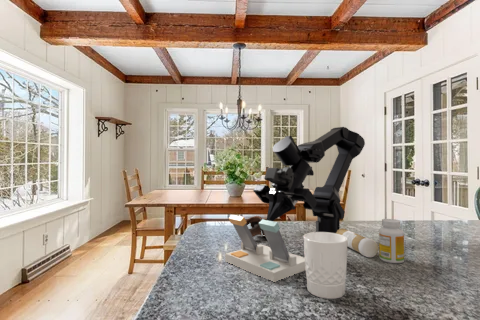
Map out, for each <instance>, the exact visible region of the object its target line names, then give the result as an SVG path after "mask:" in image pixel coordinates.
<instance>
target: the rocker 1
mask: <svg viewBox="0 0 480 320" xmlns="http://www.w3.org/2000/svg"><path fill="white" fill-rule="evenodd" d="M228 220H229V222H230V224H232V226H233V227H234V229H235V231H236V234H237V235H238V236H239V239H240V241H241V242H243V244H244V246H245V249H248V250H251V251H254V252H256V247H257V245H258V244H257V243H256V240H255V239H254V237H253V236H252V234H251V232H250V230H249V229H250V228H249V227H248V225H246V223H247V222H246V220H247V219H246V218H245V216H240V215H235V214H231V215H230V216H229V217H228Z"/></svg>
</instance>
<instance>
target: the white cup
mask: <svg viewBox="0 0 480 320" xmlns="http://www.w3.org/2000/svg"><path fill="white" fill-rule="evenodd" d="M347 242H348V239H347V237H345V236H343V235H340V234H336V233H329V232H316V231H315V232H314V231H313V232H308V233H305V234H303V252H304V258H305V269H306V270H305V275H306V276H305V277H306V286H307V288H306V289H307V291H308V292H309V293H310V294H311V295H312V296H315V297H317V298H322V299H326V300H331V299H332V300H333V299H334V300H335V299H339V298H342V297H343V296H344V295H345V294H346V278H347V265H348V247H347Z"/></svg>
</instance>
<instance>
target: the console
mask: <svg viewBox="0 0 480 320" xmlns="http://www.w3.org/2000/svg"><path fill="white" fill-rule="evenodd" d="M288 253H289V256H290V257H289V263H286V262H283V261H280V260H277V259H275V258H274V255H273V253H272V251H271V248H270V246H268V245H265V244H262V243H260V244H257V247H256V252H254V251H251V250H248V249H245V246H244V244H243V242H242V241H241V242H240V249H238V250H234V251H231V252H226V253H225V255H224V257H225V258H224V259H225V263H227V262H228V263H227V264H229V263H230V265H231V264H233V265H232V266H234V265H235V266H234V267H236V266H237V267H236V268H238V267H240V268H239V269H241V268H242V269H241V270H243V269H244V270H243V271H245V270H246V272H248V271H249V272H248V273H250V272H251V273H250V274H252V273H253V274H252V275H255V274H256V275H255V276H257V275H258V277H259V276H261V277H260V278H262V277H264V278H266V279H269V280H271V281H273V282H275V283H277V282H276V281H278V280H280V281H282V280H281V279H283V280H285V279H287V278H290V277H292V276H295V275H297V274H300V273H302V272H304V271H306V269H305V256H301V255H298V254H294V253H291V252H288ZM294 274H295V275H294ZM289 276H290V277H289ZM286 277H287V278H286ZM264 278H263V279H264ZM284 278H285V279H284ZM266 279H265V280H266ZM271 281H270V282H271ZM273 282H272V283H273ZM278 282H279V281H278Z"/></svg>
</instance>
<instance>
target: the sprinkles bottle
mask: <svg viewBox="0 0 480 320" xmlns="http://www.w3.org/2000/svg"><path fill="white" fill-rule="evenodd" d="M336 234H340V235H343V236H345V237H347V239H348V242H347V248H350V249H351V250H353V251H354V252H355V251H356V252H357V253H360V255H362V256H364V257H367V258H374V257H375V256H376V255H377V254H378V253H379V244H378V242H376V241H375V240H374V239H371V238H370V237H366V236H362V235H361V234H358V233H356V232H354V231H352V230H348V229H347V228H345V227H344V228H343V227H342V228H341V227H340V229H339V230H338V231H337V232H336Z"/></svg>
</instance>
